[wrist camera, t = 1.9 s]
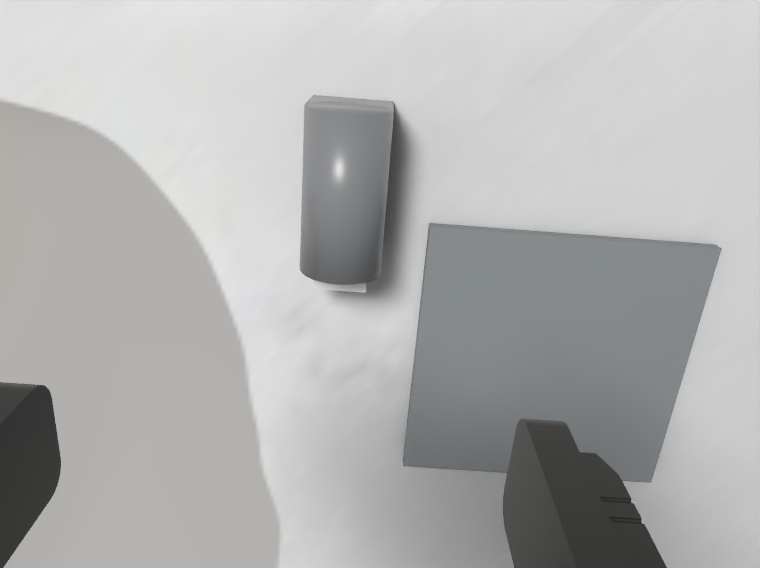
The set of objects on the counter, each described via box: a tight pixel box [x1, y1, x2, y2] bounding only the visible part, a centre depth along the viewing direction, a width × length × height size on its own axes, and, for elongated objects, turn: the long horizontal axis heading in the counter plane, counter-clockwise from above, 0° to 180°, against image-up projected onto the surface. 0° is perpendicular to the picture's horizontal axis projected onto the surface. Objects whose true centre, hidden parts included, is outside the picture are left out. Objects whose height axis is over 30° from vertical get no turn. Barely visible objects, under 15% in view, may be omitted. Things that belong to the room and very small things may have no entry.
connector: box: [300, 95, 394, 293], centre depth 28 cm, size 4×8×5 cm, turn 176°
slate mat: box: [403, 223, 721, 482], centre depth 33 cm, size 14×14×1 cm
